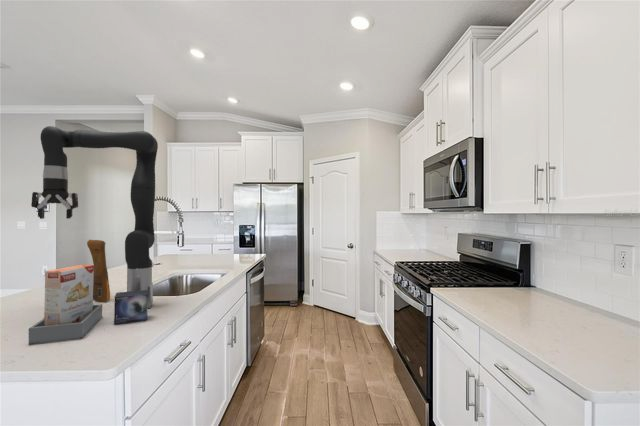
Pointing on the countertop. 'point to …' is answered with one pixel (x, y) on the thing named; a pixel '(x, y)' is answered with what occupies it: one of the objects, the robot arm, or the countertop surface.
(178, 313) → the countertop surface
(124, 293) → the small box
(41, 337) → the tray
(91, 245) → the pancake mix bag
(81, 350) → the countertop surface
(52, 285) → the cracker box
